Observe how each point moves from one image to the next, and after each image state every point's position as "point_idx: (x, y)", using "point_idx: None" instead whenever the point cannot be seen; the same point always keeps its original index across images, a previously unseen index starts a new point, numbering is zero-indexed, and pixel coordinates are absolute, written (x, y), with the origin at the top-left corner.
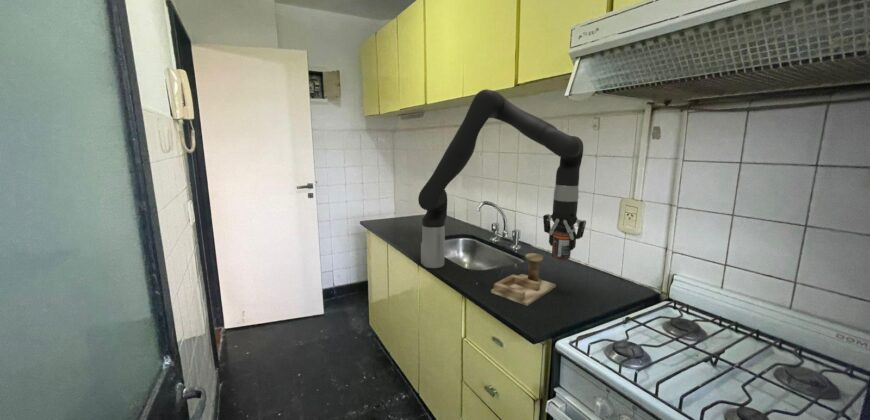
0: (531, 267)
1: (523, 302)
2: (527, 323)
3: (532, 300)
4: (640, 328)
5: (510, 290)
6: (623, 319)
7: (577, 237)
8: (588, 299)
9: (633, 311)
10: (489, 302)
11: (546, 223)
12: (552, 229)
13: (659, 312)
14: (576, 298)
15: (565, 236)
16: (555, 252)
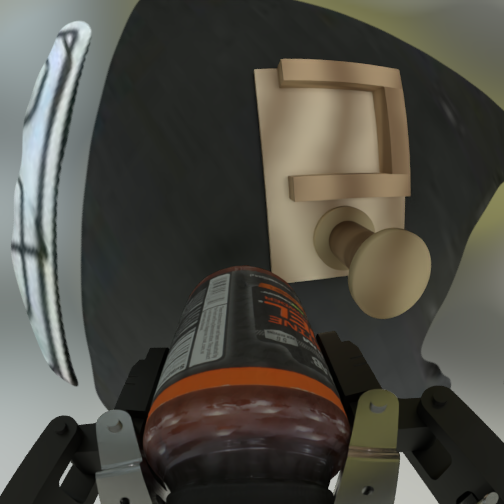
0: (370, 235)
1: (268, 69)
2: (189, 5)
3: (257, 104)
4: (15, 226)
5: (331, 61)
6: (44, 237)
7: (59, 423)
8: (149, 277)
9: (57, 296)
10: (346, 24)
11: (477, 462)
12: (377, 450)
13: (40, 330)
14: (175, 254)
15: (156, 415)
16: (253, 281)
